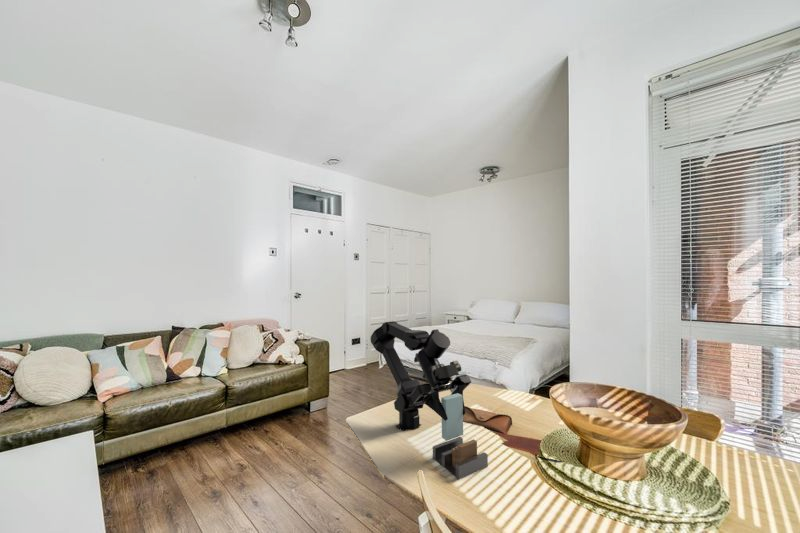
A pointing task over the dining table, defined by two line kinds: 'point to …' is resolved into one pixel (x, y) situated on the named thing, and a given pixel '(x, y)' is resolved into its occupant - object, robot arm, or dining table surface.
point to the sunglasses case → (488, 420)
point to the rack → (464, 468)
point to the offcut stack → (464, 452)
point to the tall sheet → (452, 416)
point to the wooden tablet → (521, 443)
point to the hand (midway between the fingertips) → (455, 417)
